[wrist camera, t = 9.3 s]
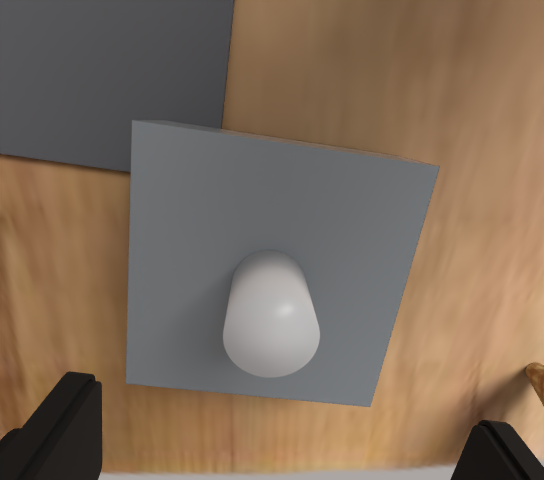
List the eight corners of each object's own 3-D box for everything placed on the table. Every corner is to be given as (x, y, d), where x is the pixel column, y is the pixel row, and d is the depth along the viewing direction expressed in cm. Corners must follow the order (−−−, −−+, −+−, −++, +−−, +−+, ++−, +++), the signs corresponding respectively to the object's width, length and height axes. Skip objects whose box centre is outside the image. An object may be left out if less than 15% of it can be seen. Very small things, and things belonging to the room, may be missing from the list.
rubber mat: (250, -158, 19) (249, -164, 18) (216, 183, 24) (215, 184, 24) (-113, -231, 18) (-121, -240, 17) (-65, 143, 23) (-71, 143, 22)
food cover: (395, 155, 23) (505, 183, 13) (347, 349, 28) (400, 484, 18) (164, 120, 22) (81, 119, 12) (154, 328, 27) (87, 459, 16)
